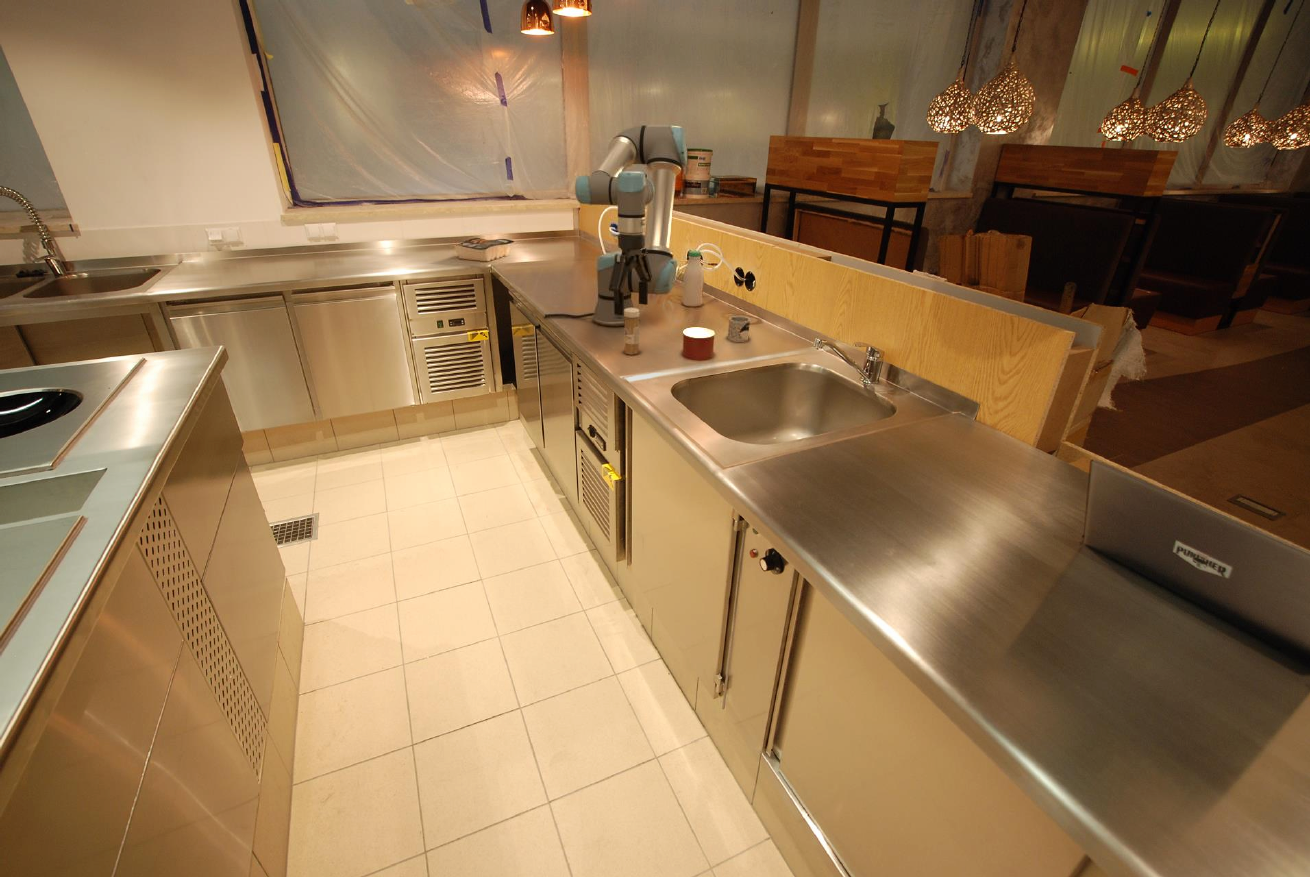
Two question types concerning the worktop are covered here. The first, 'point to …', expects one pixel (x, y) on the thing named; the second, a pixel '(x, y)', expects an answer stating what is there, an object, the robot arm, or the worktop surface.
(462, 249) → the food packaging
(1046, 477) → the worktop surface
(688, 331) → the tin
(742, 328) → the mug
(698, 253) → the milk bottle
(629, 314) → the sprinkles bottle
